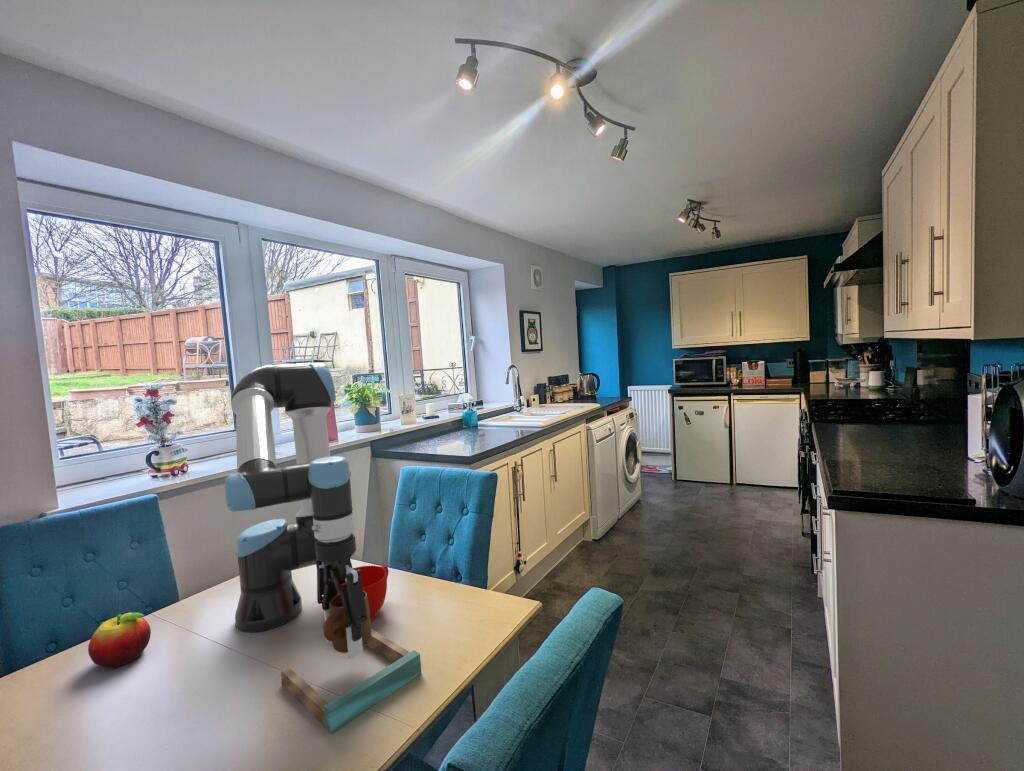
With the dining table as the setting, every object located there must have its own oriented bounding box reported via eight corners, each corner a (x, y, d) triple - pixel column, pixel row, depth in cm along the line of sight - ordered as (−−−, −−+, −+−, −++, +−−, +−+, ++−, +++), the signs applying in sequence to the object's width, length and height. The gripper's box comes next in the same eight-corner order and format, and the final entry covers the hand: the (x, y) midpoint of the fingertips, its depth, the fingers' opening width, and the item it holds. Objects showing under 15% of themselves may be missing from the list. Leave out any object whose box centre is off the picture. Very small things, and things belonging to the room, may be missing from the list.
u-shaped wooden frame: (281, 684, 93) (280, 665, 93) (366, 638, 107) (365, 621, 107) (331, 733, 80) (329, 711, 79) (421, 672, 94) (419, 653, 94)
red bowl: (409, 598, 124) (406, 562, 123) (366, 635, 108) (363, 593, 108) (369, 592, 129) (366, 556, 128) (323, 626, 113) (320, 586, 113)
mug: (347, 670, 87) (342, 621, 86) (310, 667, 88) (306, 619, 88) (378, 633, 99) (374, 589, 98) (345, 631, 100) (342, 588, 100)
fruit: (114, 647, 110) (110, 606, 109) (164, 642, 111) (159, 601, 110) (76, 678, 99) (71, 632, 98) (131, 672, 100) (126, 627, 99)
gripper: (292, 531, 97) (302, 638, 98) (344, 554, 83) (354, 677, 85) (327, 520, 103) (336, 621, 104) (380, 540, 89) (390, 656, 90)
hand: (344, 646), depth 94 cm, fingers closed on mug, 8 cm apart
